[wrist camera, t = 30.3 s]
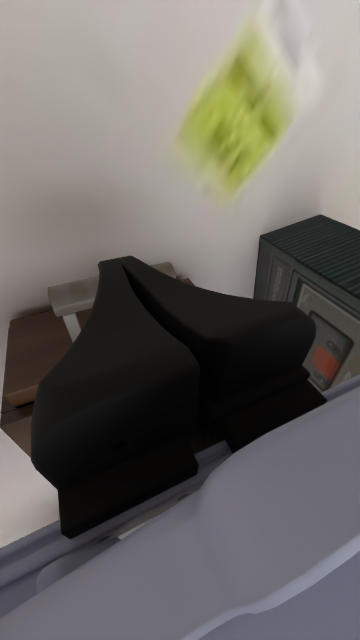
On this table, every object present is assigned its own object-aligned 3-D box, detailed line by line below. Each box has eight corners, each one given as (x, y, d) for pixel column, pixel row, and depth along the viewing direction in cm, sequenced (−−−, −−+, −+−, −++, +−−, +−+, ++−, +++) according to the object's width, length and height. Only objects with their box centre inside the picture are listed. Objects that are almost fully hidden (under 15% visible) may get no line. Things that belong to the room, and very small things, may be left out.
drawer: (-31, 253, 14) (-58, 324, 10) (190, 218, 18) (240, 257, 14) (61, 408, 25) (68, 473, 20) (185, 364, 29) (213, 411, 25)
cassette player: (260, 235, 23) (602, 445, 9) (320, 214, 24) (693, 367, 11) (242, 395, 43) (341, 534, 30) (276, 378, 45) (384, 503, 31)
